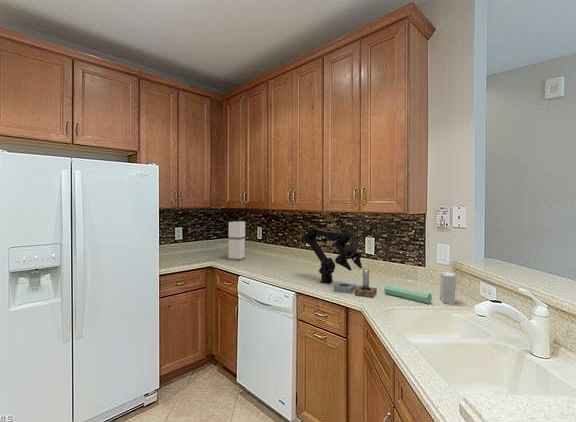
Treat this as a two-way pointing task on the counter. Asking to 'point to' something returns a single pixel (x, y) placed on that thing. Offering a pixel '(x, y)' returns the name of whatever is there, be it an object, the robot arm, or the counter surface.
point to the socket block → (344, 287)
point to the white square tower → (236, 241)
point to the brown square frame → (365, 292)
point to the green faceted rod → (408, 294)
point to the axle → (366, 279)
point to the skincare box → (447, 287)
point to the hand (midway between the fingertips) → (356, 269)
